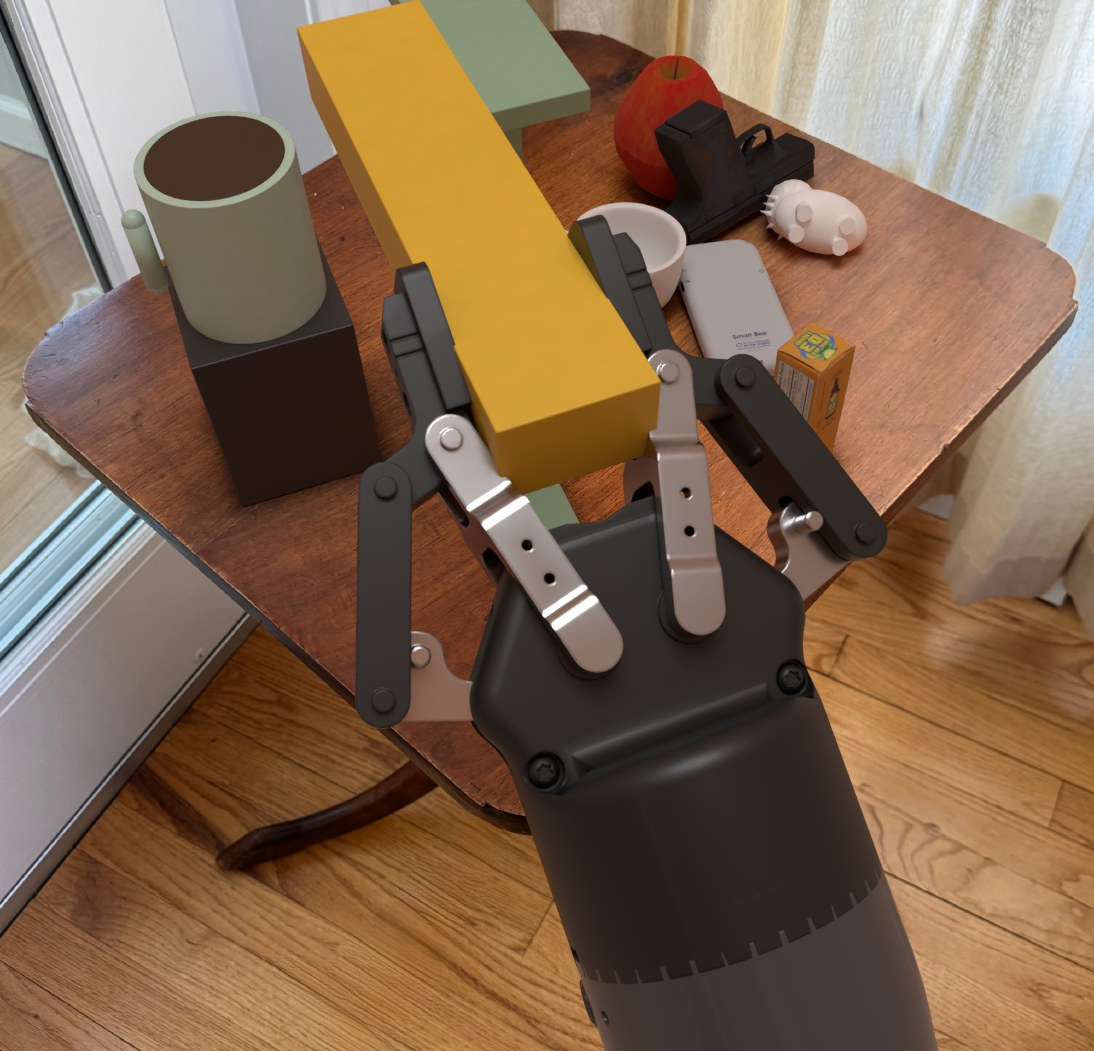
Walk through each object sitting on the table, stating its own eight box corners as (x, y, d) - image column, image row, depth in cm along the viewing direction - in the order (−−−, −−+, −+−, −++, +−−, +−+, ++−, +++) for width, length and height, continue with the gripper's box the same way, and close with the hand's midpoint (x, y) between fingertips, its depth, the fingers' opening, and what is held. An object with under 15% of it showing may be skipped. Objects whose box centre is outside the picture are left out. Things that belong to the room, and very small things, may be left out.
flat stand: (507, 569, 67) (468, 117, 43) (443, 428, 74) (379, -31, 50) (585, 543, 68) (591, 88, 44) (515, 406, 75) (487, -53, 51)
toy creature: (754, 244, 81) (746, 220, 86) (859, 275, 82) (845, 249, 87) (778, 181, 79) (768, 160, 84) (886, 213, 79) (869, 191, 85)
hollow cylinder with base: (228, 511, 70) (118, 237, 53) (201, 411, 75) (92, 132, 58) (383, 465, 72) (324, 186, 55) (346, 370, 77) (281, 88, 60)
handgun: (681, 135, 75) (688, 263, 83) (824, 57, 80) (819, 184, 87) (651, 122, 77) (662, 248, 84) (793, 46, 82) (791, 172, 89)
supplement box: (787, 432, 73) (813, 316, 65) (831, 461, 71) (863, 345, 63) (754, 461, 71) (777, 345, 63) (798, 491, 70) (826, 376, 62)
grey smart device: (808, 358, 74) (803, 380, 76) (753, 233, 82) (750, 254, 83) (715, 371, 74) (712, 392, 75) (669, 244, 81) (667, 265, 83)
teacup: (695, 278, 82) (701, 217, 77) (658, 349, 77) (663, 288, 73) (566, 245, 84) (566, 183, 80) (524, 311, 80) (521, 250, 76)
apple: (595, 198, 87) (597, 70, 79) (643, 141, 91) (650, 14, 83) (692, 230, 85) (705, 101, 76) (737, 171, 89) (754, 42, 80)
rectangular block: (502, 502, 27) (495, 432, 25) (311, 99, 37) (295, 26, 35) (656, 452, 28) (662, 380, 26) (428, 71, 38) (419, -2, 36)
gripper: (1082, 832, 25) (806, 110, 26) (460, 1102, 22) (189, 270, 23) (914, 801, 32) (706, 239, 33) (432, 1000, 29) (227, 373, 30)
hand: (496, 255), depth 28 cm, fingers closed on rectangular block, 4 cm apart
